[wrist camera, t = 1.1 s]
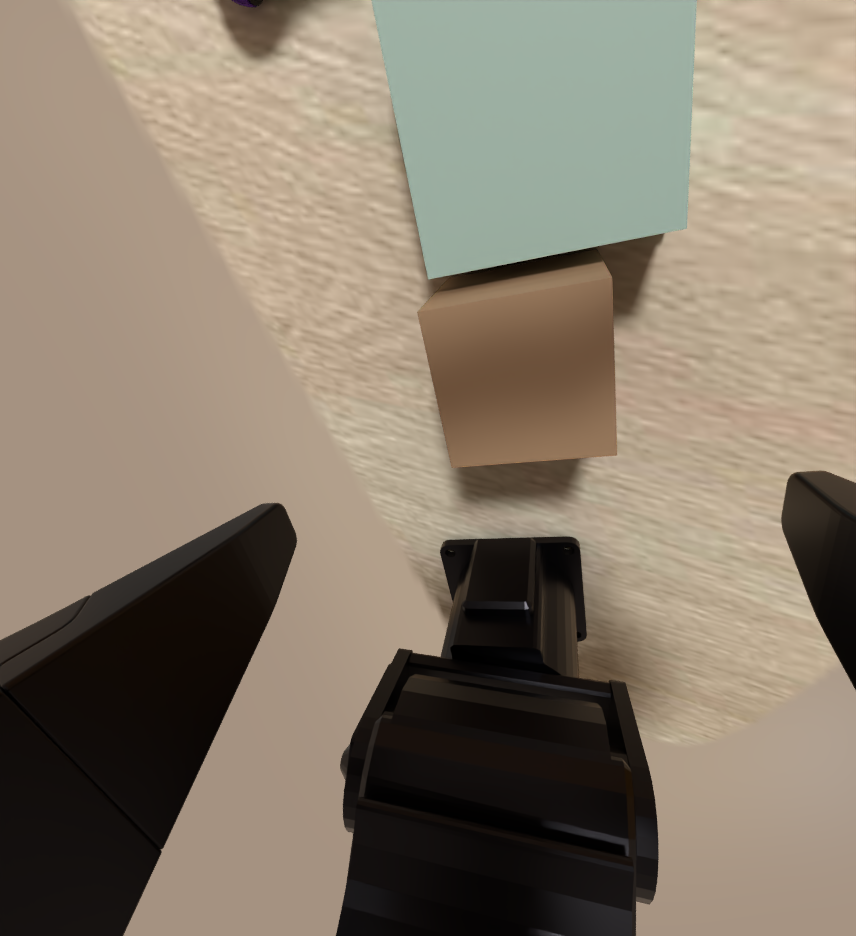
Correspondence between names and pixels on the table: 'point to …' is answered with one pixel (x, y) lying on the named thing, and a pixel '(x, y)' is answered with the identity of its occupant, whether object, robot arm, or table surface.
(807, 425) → the table surface
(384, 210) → the table surface
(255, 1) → the gaming controller
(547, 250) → the base brick
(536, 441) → the walnut block
